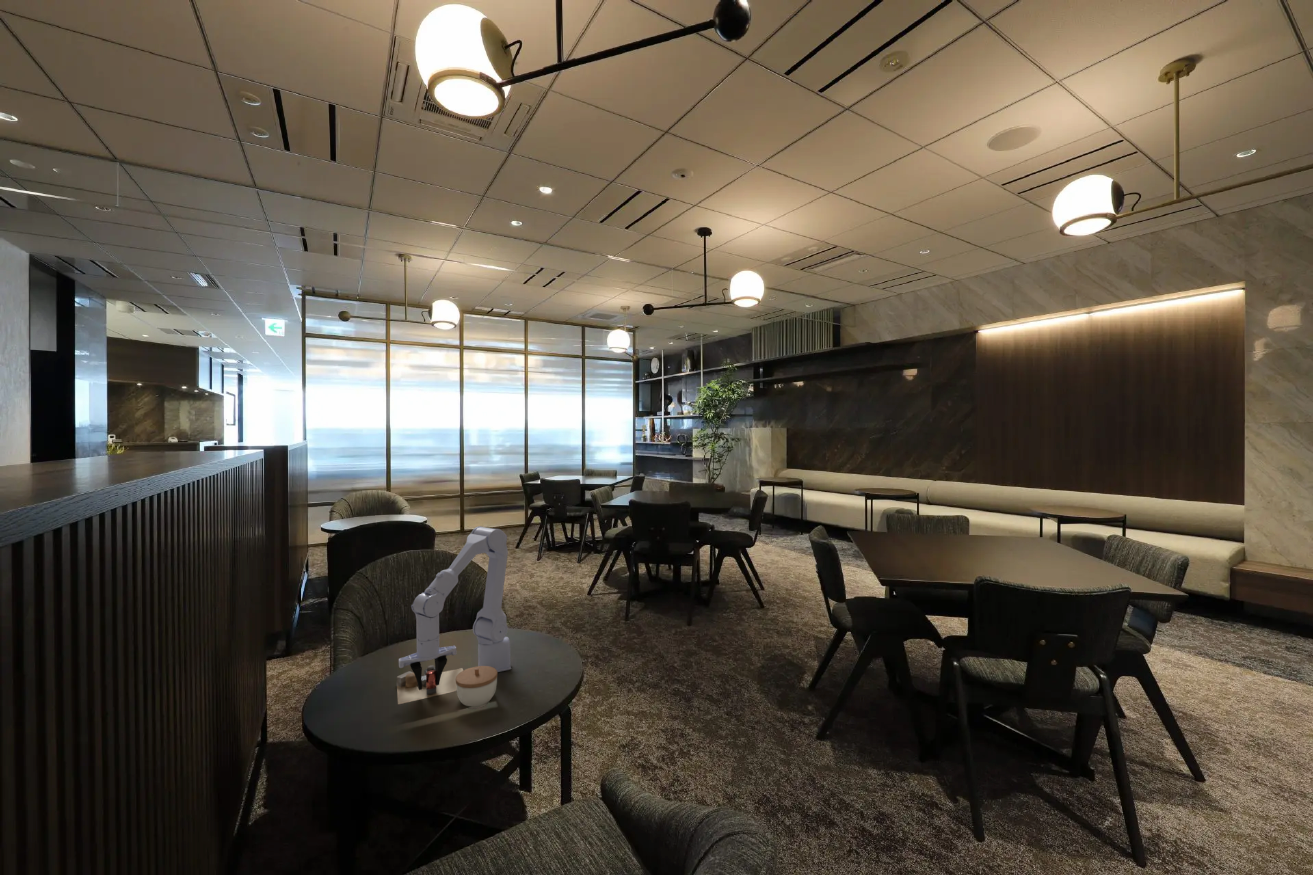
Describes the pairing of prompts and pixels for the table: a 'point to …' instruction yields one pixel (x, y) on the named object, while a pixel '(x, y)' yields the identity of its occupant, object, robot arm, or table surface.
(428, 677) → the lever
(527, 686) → the table surface
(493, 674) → the lidded jar
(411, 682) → the cork
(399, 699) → the board
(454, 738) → the table surface
